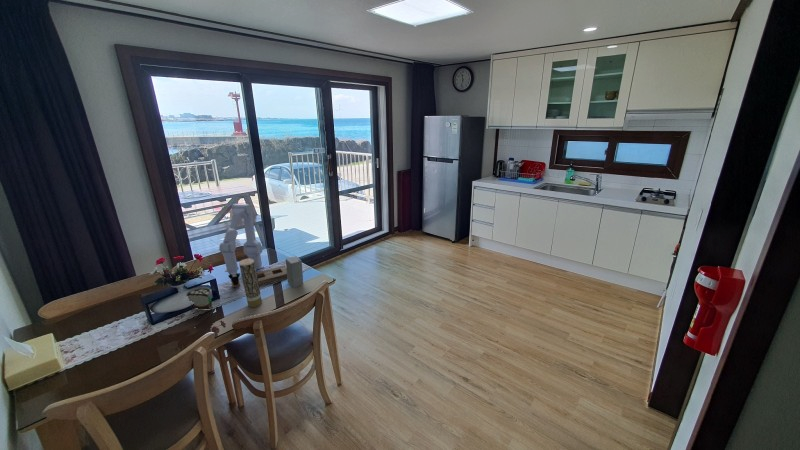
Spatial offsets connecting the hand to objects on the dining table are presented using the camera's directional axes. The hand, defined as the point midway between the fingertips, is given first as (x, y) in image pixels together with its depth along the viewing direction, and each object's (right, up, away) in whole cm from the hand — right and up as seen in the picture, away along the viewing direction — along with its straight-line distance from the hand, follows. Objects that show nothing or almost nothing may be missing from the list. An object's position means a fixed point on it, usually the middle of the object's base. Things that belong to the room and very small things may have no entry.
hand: (235, 282), depth 179 cm
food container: (-6, -9, -18) cm, 21 cm away
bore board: (+16, +1, +8) cm, 18 cm away
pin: (0, -2, +1) cm, 2 cm away
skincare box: (+34, -1, +3) cm, 35 cm away
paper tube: (+19, -8, -17) cm, 27 cm away
